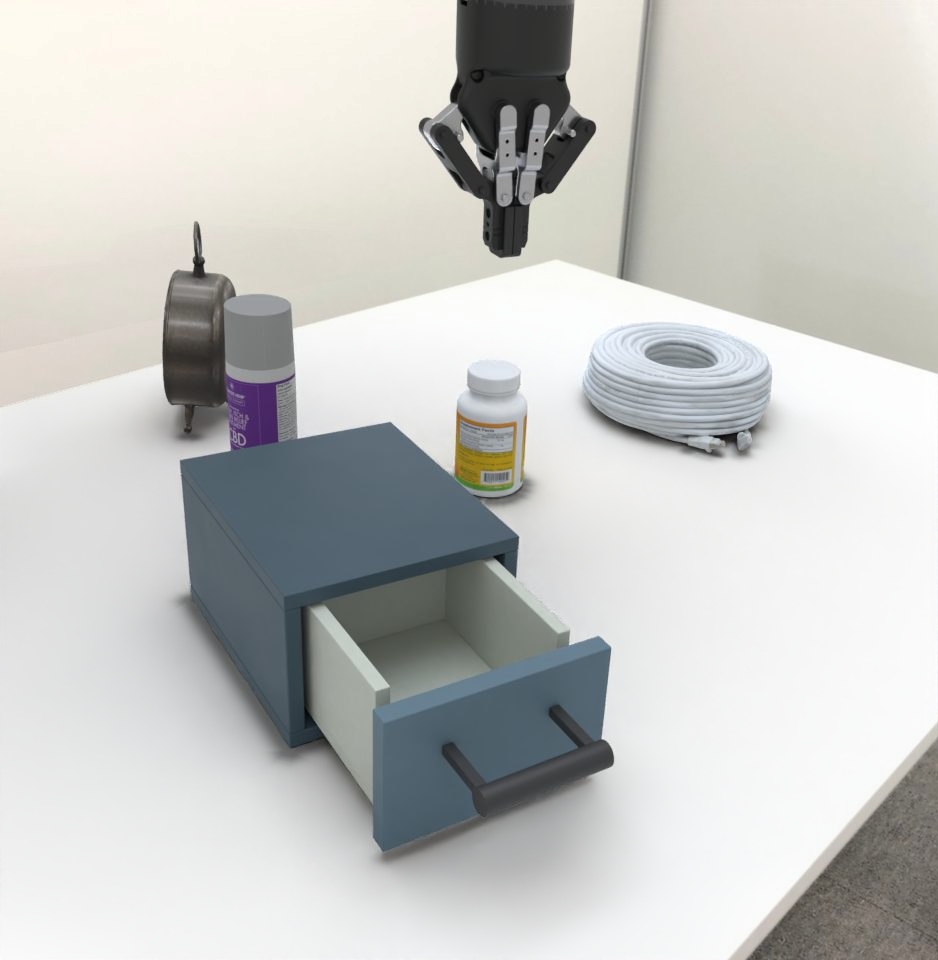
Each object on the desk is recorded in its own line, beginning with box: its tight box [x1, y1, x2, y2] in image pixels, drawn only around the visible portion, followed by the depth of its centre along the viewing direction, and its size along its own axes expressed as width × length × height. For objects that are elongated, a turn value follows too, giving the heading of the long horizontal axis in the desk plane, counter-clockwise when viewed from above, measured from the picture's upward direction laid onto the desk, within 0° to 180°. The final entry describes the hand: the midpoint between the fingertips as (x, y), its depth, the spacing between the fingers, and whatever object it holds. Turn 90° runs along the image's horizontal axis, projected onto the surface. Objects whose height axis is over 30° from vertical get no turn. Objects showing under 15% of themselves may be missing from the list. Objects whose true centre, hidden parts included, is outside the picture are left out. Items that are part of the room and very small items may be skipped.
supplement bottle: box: [454, 359, 528, 498], centre depth 92 cm, size 5×5×10 cm
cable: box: [581, 321, 773, 453], centre depth 110 cm, size 18×18×6 cm
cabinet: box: [179, 421, 520, 749], centre depth 72 cm, size 17×14×10 cm
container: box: [224, 293, 299, 451], centre depth 85 cm, size 5×5×15 cm
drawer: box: [301, 556, 615, 853], centre depth 63 cm, size 20×13×8 cm, turn 36°
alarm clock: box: [161, 220, 237, 434], centre depth 97 cm, size 11×5×16 cm, turn 10°
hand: (504, 254), depth 84 cm, fingers closed
